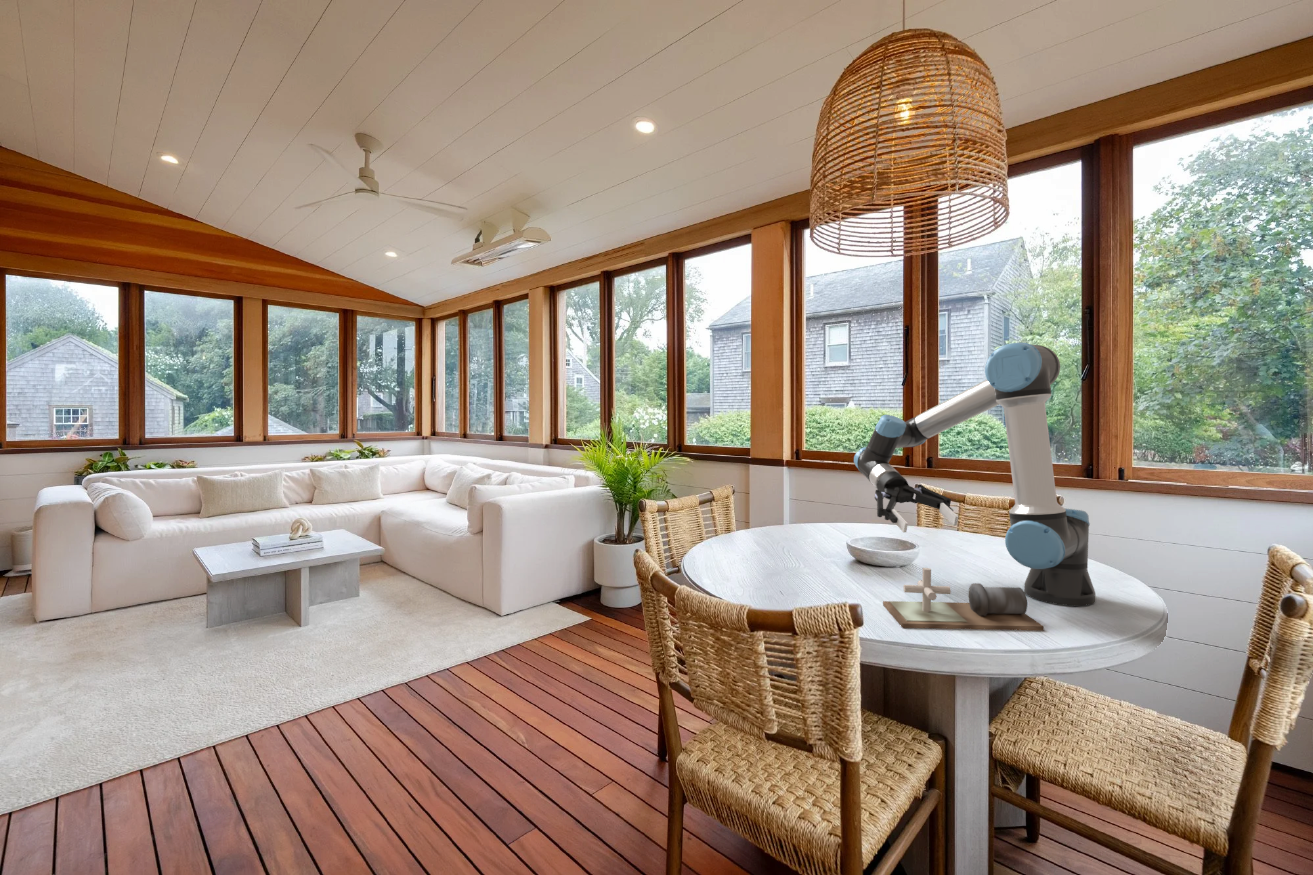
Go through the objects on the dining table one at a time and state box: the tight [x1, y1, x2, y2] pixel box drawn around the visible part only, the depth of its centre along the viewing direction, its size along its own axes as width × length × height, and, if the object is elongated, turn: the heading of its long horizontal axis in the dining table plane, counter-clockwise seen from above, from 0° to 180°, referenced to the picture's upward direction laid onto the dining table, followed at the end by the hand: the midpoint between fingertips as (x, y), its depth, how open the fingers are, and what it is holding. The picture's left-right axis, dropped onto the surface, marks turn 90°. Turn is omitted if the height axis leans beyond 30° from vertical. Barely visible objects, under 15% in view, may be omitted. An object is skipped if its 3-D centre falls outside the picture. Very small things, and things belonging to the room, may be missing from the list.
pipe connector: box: [902, 567, 952, 612], centre depth 139 cm, size 10×10×10 cm
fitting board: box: [882, 582, 1045, 632], centre depth 138 cm, size 30×15×8 cm, turn 85°
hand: (931, 524), depth 149 cm, fingers open, 13 cm apart
